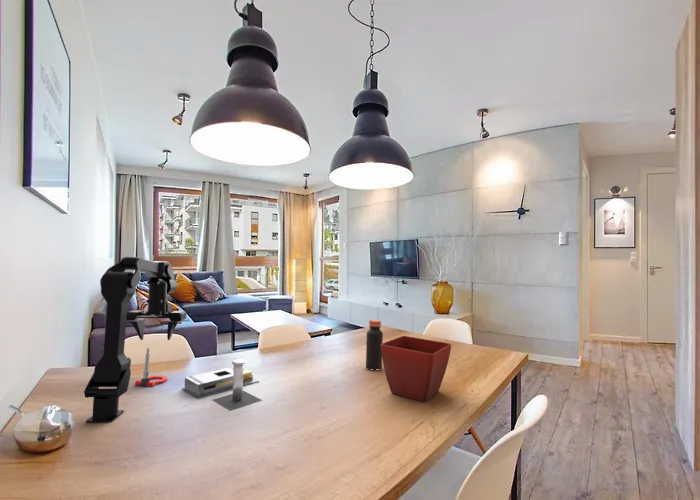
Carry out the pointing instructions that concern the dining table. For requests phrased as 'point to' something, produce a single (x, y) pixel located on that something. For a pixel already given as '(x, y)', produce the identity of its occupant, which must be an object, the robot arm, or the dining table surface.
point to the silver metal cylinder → (237, 380)
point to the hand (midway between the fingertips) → (155, 339)
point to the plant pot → (415, 366)
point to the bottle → (374, 345)
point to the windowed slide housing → (214, 382)
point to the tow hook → (146, 380)
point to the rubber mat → (230, 405)
